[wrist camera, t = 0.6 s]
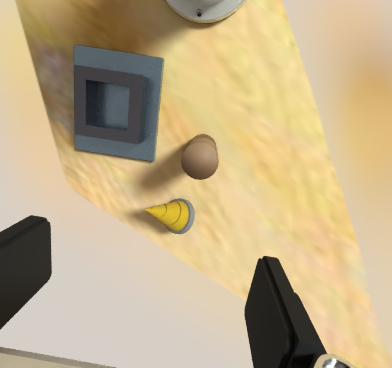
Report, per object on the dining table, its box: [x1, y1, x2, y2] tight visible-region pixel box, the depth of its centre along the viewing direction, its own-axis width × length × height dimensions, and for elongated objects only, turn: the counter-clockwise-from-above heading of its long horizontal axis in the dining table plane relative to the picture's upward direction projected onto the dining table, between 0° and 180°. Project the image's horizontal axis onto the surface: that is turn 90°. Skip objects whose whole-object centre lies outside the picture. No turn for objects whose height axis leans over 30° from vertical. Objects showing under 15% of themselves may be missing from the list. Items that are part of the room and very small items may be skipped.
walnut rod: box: [181, 134, 218, 180], centre depth 30 cm, size 4×4×10 cm
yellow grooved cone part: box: [145, 199, 195, 234], centre depth 34 cm, size 5×5×10 cm
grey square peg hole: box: [74, 45, 164, 161], centre depth 32 cm, size 14×12×4 cm
